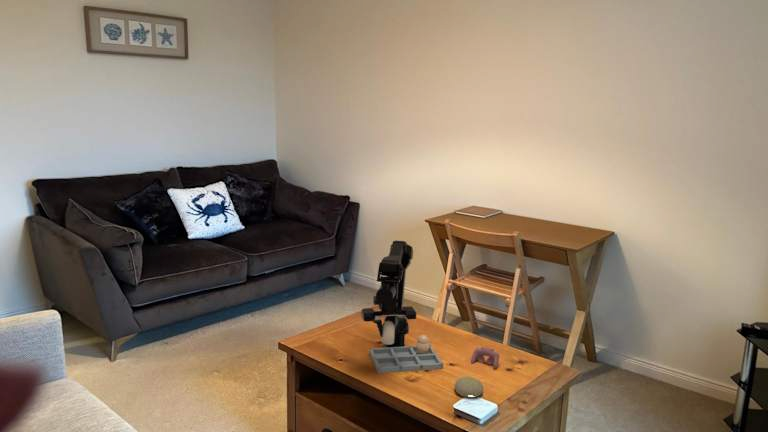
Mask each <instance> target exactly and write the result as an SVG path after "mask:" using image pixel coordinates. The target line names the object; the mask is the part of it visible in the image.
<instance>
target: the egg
mask: <svg viewBox="0 0 768 432" xmlns="http://www.w3.org/2000/svg"><path fill="white" fill-rule="evenodd" d="M394 337H395V325H394V323H393V322H391V321H385V322H384V321H383V322H382V337H380V338H381V339H380V340H381V341H380V342H381V344H383V345H385V346H386V345H391V344H393V343H394Z"/></svg>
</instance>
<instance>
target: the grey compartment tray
mask: <svg viewBox="0 0 768 432" xmlns="http://www.w3.org/2000/svg"><path fill="white" fill-rule="evenodd" d="M416 352H417V345H406V346H405V345H404V347H387V346H386V347H376V348H375V347H374V348H369V353H368V354H369V356H370V358H371V360H372V362H373V365H374V367H375V370H376V372H377V374H388V373H389V374H391V373H399V372H400V373H401V372H402V373H403V372H414V371H415V372H417V371H430V370H431V371H432V370H443V369H444V363H443V361H442V360H441V358H440V356H439V355H438V354H437V353H436V351H435V349H434V348H433V347H432V345H431V344H429V354H421V355H416Z"/></svg>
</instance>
